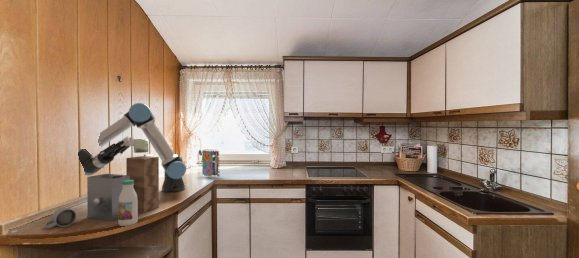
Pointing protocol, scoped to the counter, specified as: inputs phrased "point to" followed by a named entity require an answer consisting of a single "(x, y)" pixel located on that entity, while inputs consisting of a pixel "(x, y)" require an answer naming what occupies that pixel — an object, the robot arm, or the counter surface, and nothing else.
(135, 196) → the milk bottle
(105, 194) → the box
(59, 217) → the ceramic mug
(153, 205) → the walnut stand
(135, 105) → the robot arm
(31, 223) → the counter surface
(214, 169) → the box
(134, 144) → the spout can
